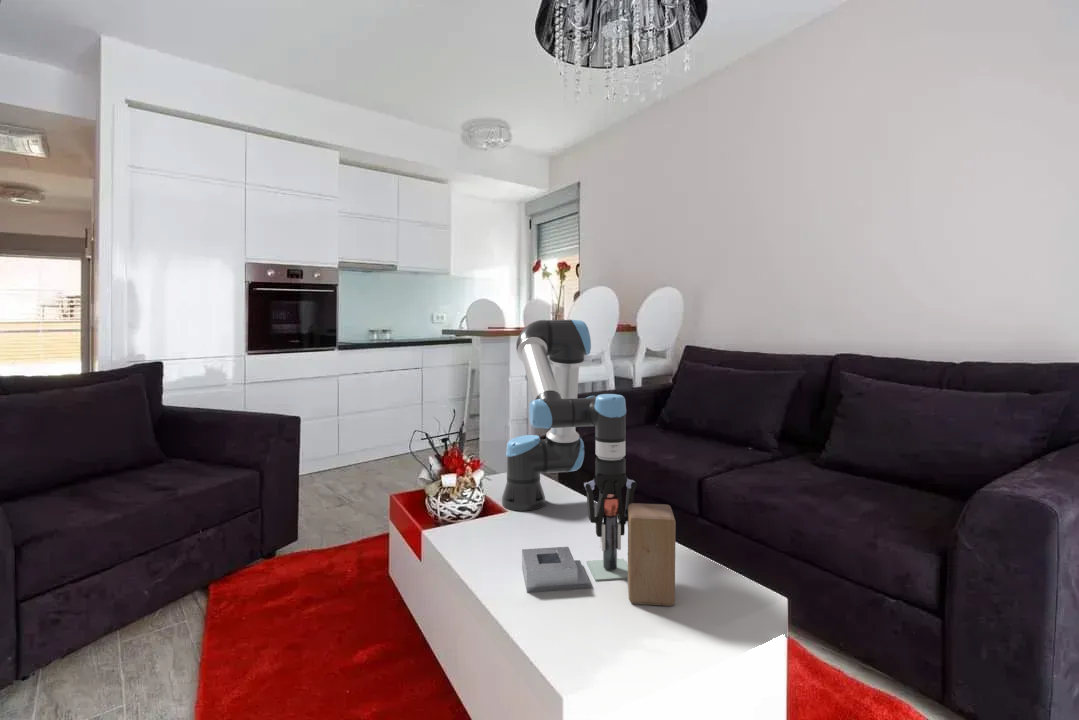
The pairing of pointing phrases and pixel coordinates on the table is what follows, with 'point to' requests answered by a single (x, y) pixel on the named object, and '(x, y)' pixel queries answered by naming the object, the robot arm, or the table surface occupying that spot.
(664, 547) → the wooden block
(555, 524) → the table surface
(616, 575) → the mat
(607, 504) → the red capped rod
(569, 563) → the grey hollow block
